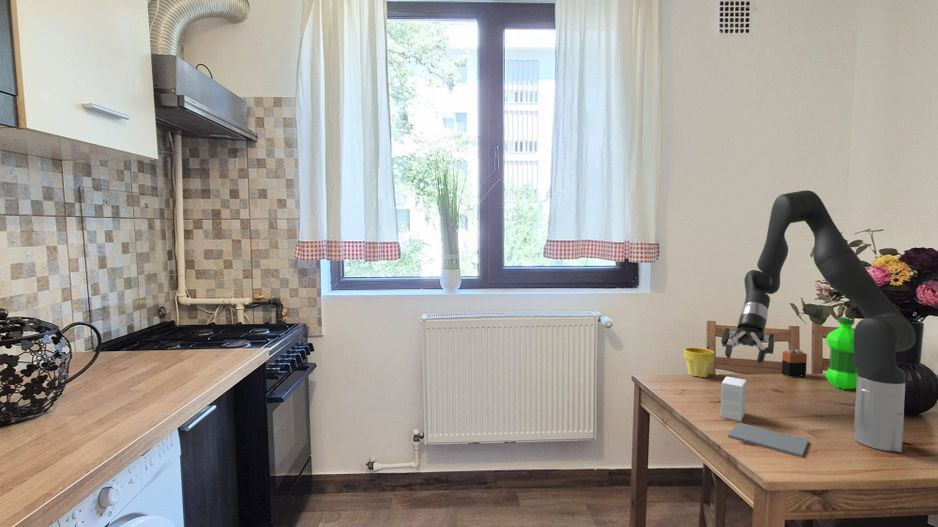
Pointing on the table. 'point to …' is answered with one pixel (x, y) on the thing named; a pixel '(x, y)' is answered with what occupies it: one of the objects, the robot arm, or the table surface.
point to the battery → (794, 363)
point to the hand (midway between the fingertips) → (743, 359)
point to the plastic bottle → (842, 356)
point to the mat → (769, 439)
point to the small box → (733, 398)
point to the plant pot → (698, 361)
